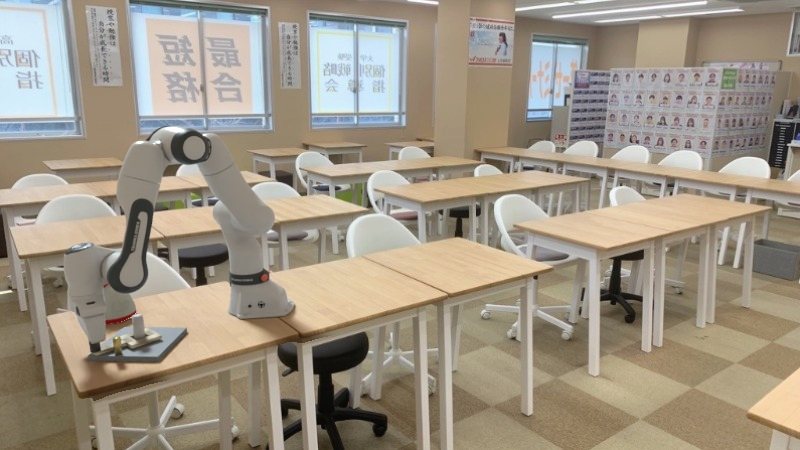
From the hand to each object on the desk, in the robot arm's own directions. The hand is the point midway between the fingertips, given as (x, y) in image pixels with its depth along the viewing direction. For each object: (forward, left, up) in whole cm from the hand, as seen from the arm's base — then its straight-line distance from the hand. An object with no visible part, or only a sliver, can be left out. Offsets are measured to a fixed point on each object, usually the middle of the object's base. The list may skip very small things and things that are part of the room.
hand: (93, 346), depth 157 cm
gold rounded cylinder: (-8, +1, -2) cm, 8 cm away
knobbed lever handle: (-7, -4, -1) cm, 8 cm away
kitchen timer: (+10, -30, -4) cm, 32 cm away
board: (-10, -7, -3) cm, 13 cm away
